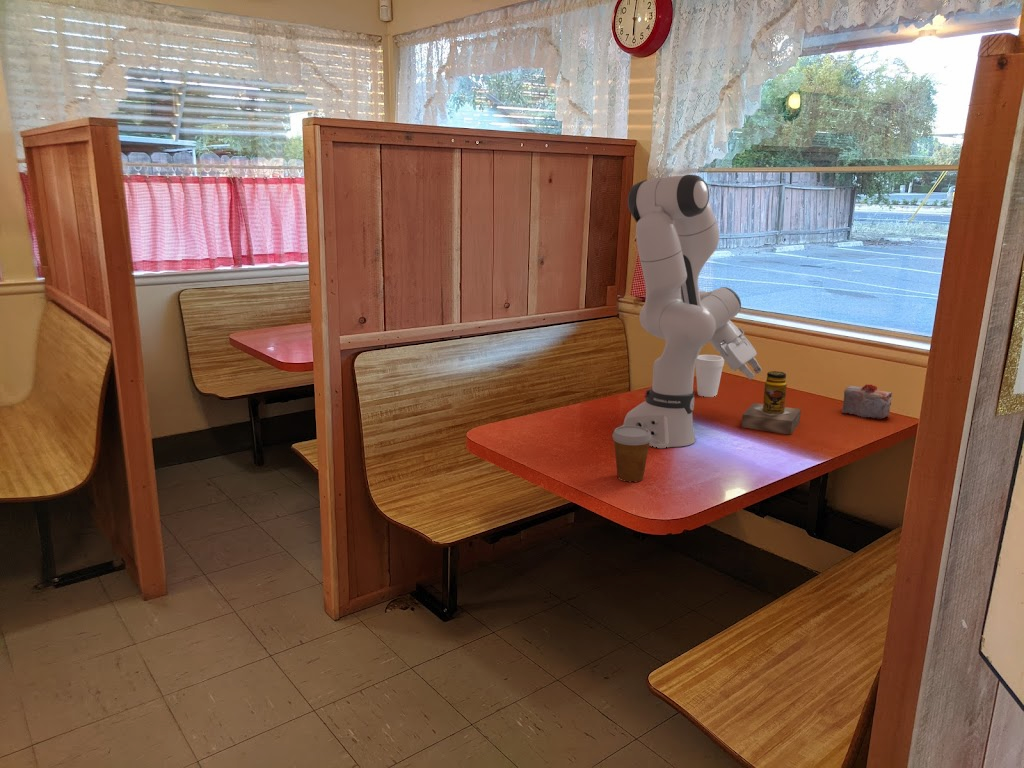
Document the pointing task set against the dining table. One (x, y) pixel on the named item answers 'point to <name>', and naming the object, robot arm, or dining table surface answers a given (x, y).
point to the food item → (867, 401)
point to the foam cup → (708, 374)
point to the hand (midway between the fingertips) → (756, 374)
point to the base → (771, 420)
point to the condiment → (774, 394)
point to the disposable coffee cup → (631, 451)
